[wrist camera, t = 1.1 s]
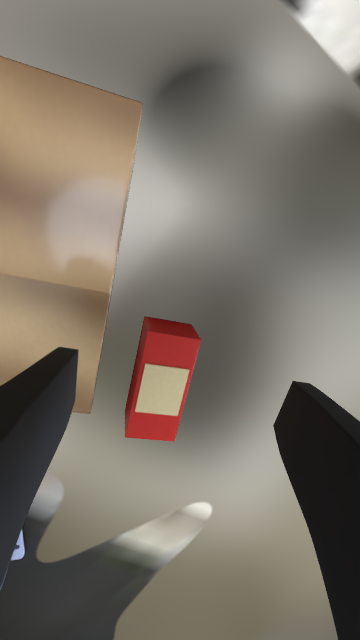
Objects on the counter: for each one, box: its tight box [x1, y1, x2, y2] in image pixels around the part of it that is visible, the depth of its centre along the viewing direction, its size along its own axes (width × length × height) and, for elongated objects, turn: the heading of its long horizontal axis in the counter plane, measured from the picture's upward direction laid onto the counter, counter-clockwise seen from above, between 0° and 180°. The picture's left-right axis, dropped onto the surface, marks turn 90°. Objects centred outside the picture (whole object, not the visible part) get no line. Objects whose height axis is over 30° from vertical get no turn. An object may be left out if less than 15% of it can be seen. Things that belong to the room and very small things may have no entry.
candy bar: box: [125, 317, 201, 441], centre depth 22 cm, size 8×4×3 cm, turn 167°
